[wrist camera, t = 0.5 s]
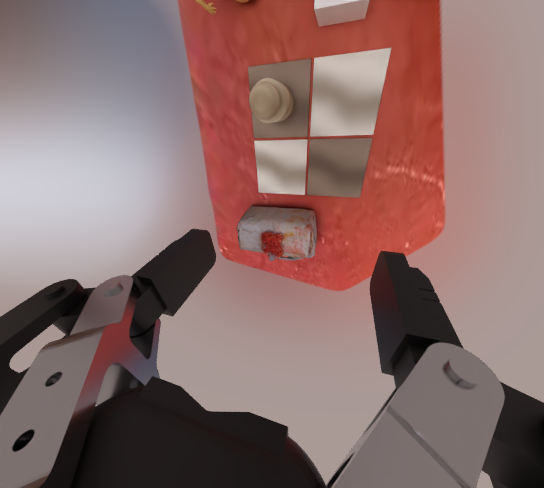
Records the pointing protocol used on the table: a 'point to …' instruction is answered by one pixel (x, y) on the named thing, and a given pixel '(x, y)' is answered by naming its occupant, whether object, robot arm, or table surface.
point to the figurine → (210, 9)
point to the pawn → (271, 101)
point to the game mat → (321, 124)
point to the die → (339, 11)
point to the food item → (278, 232)
